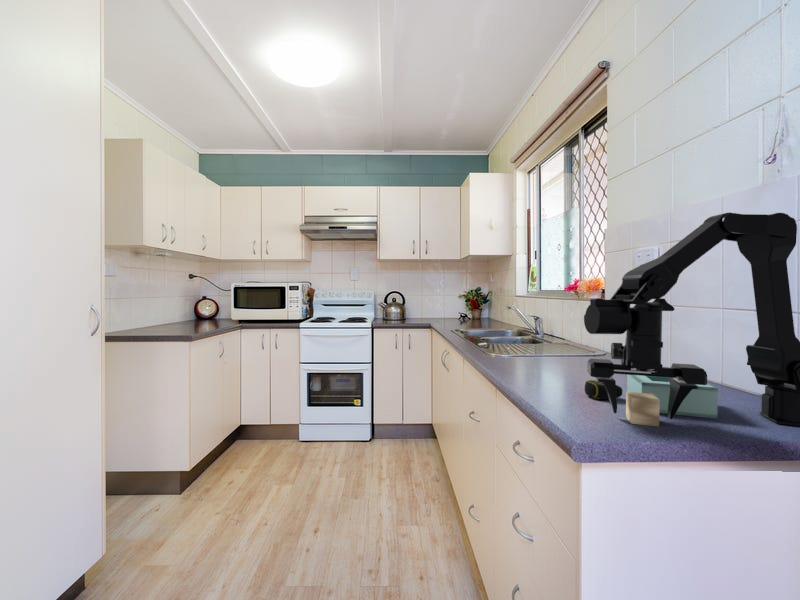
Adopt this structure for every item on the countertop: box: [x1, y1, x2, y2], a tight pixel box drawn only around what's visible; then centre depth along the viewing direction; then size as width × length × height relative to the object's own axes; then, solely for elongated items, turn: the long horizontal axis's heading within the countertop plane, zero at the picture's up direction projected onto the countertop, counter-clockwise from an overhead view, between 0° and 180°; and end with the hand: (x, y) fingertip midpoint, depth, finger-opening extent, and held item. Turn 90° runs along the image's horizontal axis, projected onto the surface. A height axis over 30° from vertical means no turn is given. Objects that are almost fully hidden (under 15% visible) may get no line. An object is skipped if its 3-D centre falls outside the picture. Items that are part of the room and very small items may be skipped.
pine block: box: [625, 391, 660, 427], centre depth 74 cm, size 4×4×5 cm
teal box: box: [626, 374, 719, 419], centre depth 84 cm, size 13×13×6 cm
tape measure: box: [584, 379, 623, 400], centre depth 91 cm, size 7×7×4 cm
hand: (641, 415), depth 74 cm, fingers open, 9 cm apart
